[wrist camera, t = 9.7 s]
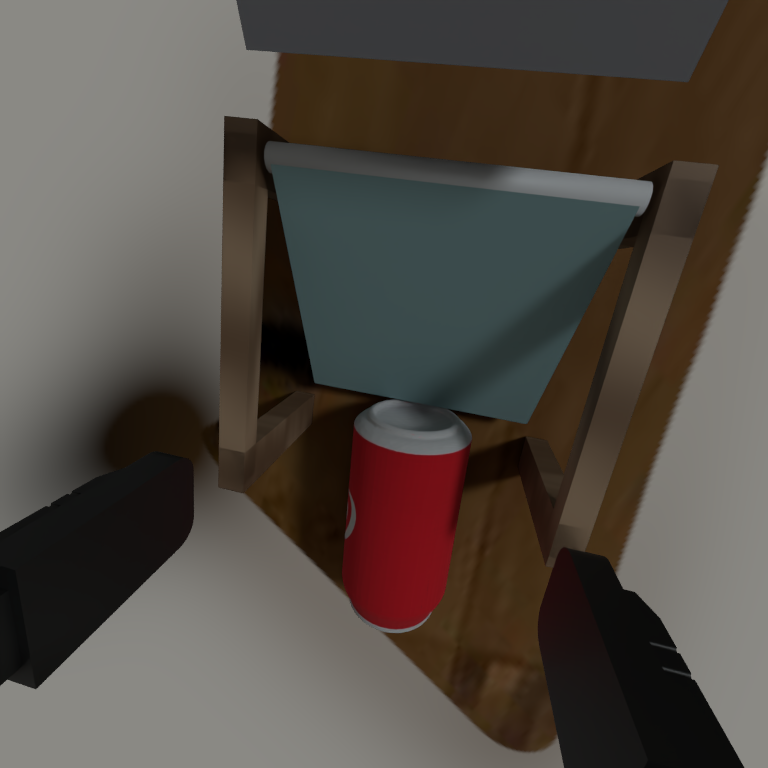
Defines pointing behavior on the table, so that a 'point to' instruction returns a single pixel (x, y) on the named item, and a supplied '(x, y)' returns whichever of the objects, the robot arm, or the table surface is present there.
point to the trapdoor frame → (537, 462)
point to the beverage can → (402, 511)
